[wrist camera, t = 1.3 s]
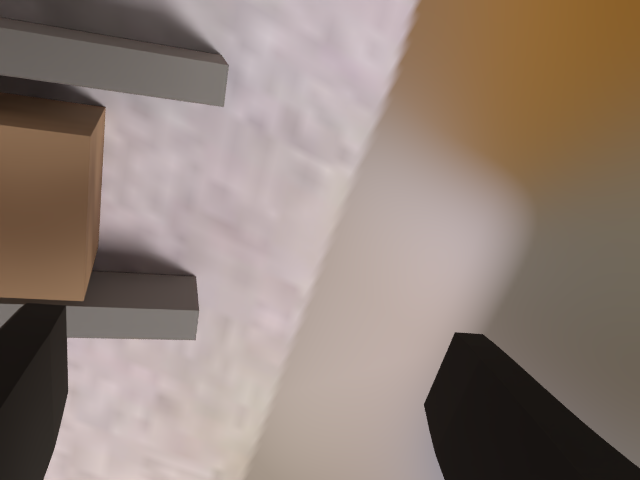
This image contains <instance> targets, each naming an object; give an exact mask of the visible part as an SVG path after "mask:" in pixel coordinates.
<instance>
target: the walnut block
mask: <svg viewBox="0 0 640 480" xmlns="http://www.w3.org/2000/svg"><path fill="white" fill-rule="evenodd" d="M105 108H106V107H100V106H93V105H86V104H79V103H72V102H66V101H59V100H52V99H45V98H38V97H31V96H24V95H17V94H10V93H3V92H0V297H4V298H25V299H46V300H67V301H84V298H85V294H86V290H87V287H88V283H89V279H90V275H91V272H92V268H93V264H94V261H95V257H96V253H97V249H98V243H99V224H100V204H101V185H102V166H103V147H104V127H105Z"/></svg>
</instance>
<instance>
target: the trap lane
mask: <svg viewBox="0 0 640 480" xmlns="http://www.w3.org/2000/svg"><path fill="white" fill-rule="evenodd" d="M228 67H229V65H228V64H227V62H226V61H225V59H224V58H223V57H222V55H218V54H213V53H207V52H201V51H195V50H189V49H183V48H177V47H171V46H165V45H160V44H154V43H148V42H142V41H136V40H130V39H124V38H118V37H113V36H107V35H101V34H95V33H89V32H83V31H77V30H71V29H65V28H60V27H54V26H48V25H42V24H36V23H30V22H24V21H18V20H13V19H7V18H1V17H0V75H4V76H11V77H18V78H25V79H32V80H39V81H46V82H53V83H60V84H67V85H74V86H81V87H88V88H95V89H102V90H109V91H116V92H123V93H130V94H137V95H144V96H151V97H158V98H165V99H172V100H179V101H186V102H193V103H200V104H207V105H214V106H221V107H224V100H225V92H226V84H227V75H228ZM26 303H37V304H52V305H66V321H67V338H114V339H164V340H196V332H197V324H198V316H199V304H198V294H197V283H196V276H177V275H158V274H139V273H120V272H101V271H92V272H91V275H90V279H89V283H88V287H87V290H86V294H85V298H84V301H67V300H46V299H25V298H4V297H0V327H1V326H2V325H3V324H4V323H5V322H6V321H7V320H8V319H9V318H10V317H11V316H12V315H13V314H14V313H15V312H16V311H17V310H18V309H19V308H20V307H22V306H23V305H25V304H26Z"/></svg>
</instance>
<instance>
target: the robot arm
mask: <svg viewBox="0 0 640 480" xmlns="http://www.w3.org/2000/svg"><path fill="white" fill-rule="evenodd" d="M67 394H68V367H67V321H66V305H52V304H37V303H26V304H25V305H23V306H22V307H20V308H19V309H18V310H17V311H16V312H15V313H14V314H13V315H12V316H11V317H10V318H9V319H8V320H7V321H6V322H5V323H4V324H3V325H2V326H1V327H0V480H43V479H44V476H45V473H46V471H47V468H48V465H49V462H50V460H51V457H52V454H53V451H54V448H55V444H56V440H57V436H58V432H59V428H60V424H61V420H62V416H63V412H64V407H65V403H66V399H67ZM424 407H425V412H426V416H427V421H428V425H429V431H430V434H431V438H432V443H433V447H434V451H435V454H436V457H437V460H438V463H439V465H440V468H441V471H442V473H443V476H444V479H445V480H640V468H639V467H637V466H636V465H635V464H633V463H632V462H631V461H629V460H628V459H627V458H626V457H625V456H623V455H622V454H621V453H620V452H618V451H617V450H616V449H615V448H614V447H612V446H611V445H610V444H609V443H607V442H606V441H605V440H604V439H602V438H601V437H600V436H599V435H598V434H596V433H595V432H594V431H593V430H592V429H590V428H589V427H588V426H587V425H586V424H585V423H583V422H582V421H581V420H580V419H579V418H578V417H576V416H575V415H574V414H573V413H572V412H571V411H570V410H568V409H567V408H566V407H565V406H564V405H563V404H562V403H560V402H559V401H558V400H557V399H556V398H555V397H554V396H553V395H551V394H550V393H549V392H548V391H547V390H546V389H545V388H543V387H542V386H541V385H540V384H539V383H538V382H537V381H536V380H535V379H534V378H533V377H532V376H530V375H529V374H528V373H527V372H526V371H525V370H524V369H523V368H522V367H520V366H519V365H518V364H517V363H516V362H515V361H514V360H513V359H511V358H510V357H509V356H508V355H507V354H506V353H505V352H504V351H502V350H501V349H500V348H499V347H498V346H496V345H495V344H494V343H493V342H492V341H490V340H489V339H488V338H487V337H485V336H484V335H483V334H471V333H455V334H454V336H453V339H452V341H451V343H450V346H449V348H448V351H447V352H446V355H445V357H444V359H443V362H442V364H441V366H440V369H439V371H438V374H437V376H436V378H435V380H434V383H433V385H432V387H431V390H430V392H429V394H428V397H427V399H426V401H425V403H424Z"/></svg>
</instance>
